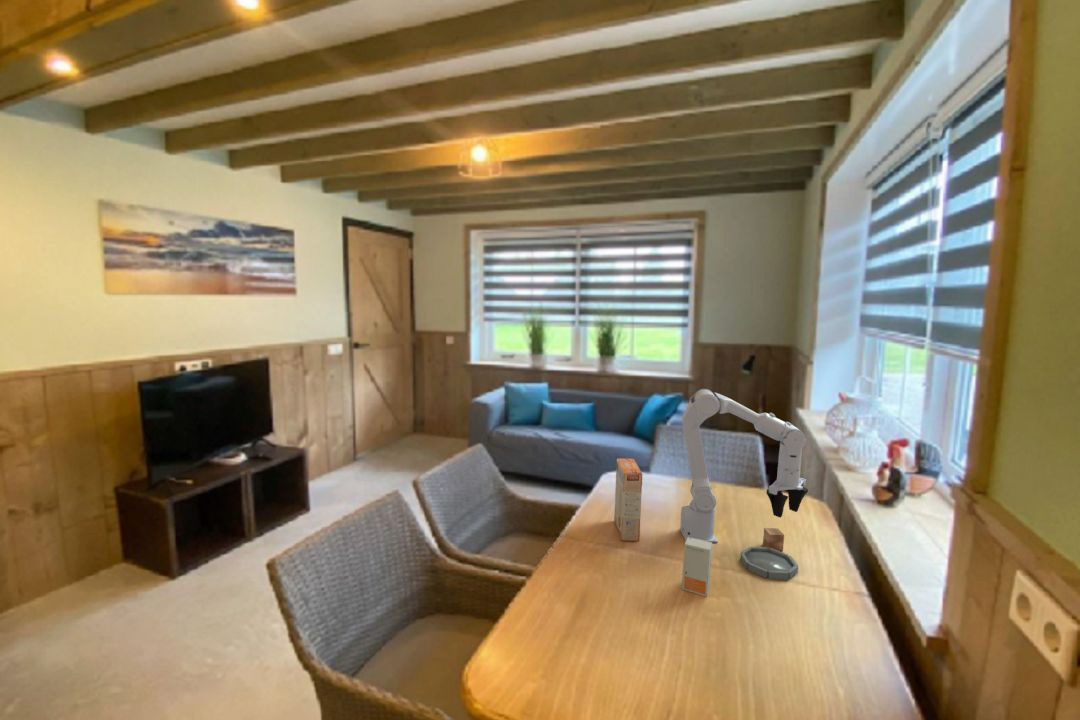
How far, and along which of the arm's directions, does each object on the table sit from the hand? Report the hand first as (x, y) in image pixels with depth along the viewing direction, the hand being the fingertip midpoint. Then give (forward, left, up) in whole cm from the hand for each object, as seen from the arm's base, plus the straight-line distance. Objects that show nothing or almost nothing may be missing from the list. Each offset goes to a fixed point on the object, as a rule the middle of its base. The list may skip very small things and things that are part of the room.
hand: (785, 513), depth 137 cm
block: (-4, -2, -10) cm, 11 cm away
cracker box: (-45, +4, -10) cm, 46 cm away
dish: (-9, -12, -10) cm, 18 cm away
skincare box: (-31, -25, -10) cm, 41 cm away
